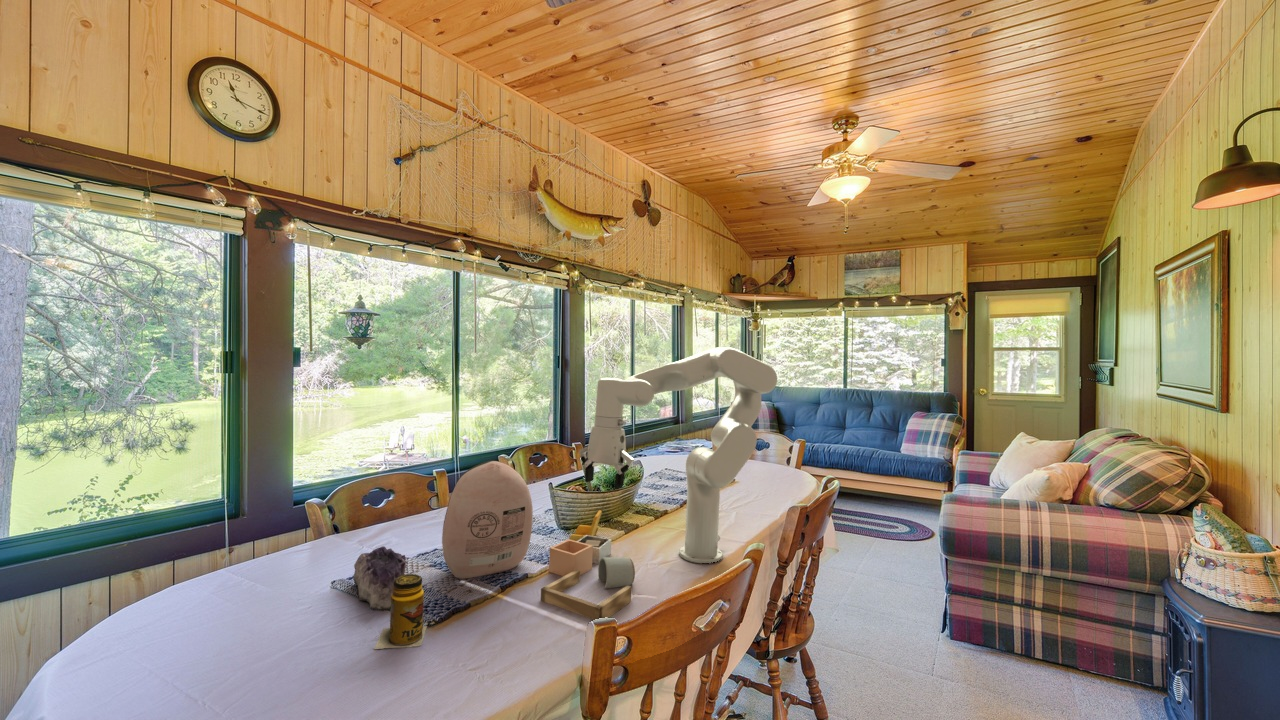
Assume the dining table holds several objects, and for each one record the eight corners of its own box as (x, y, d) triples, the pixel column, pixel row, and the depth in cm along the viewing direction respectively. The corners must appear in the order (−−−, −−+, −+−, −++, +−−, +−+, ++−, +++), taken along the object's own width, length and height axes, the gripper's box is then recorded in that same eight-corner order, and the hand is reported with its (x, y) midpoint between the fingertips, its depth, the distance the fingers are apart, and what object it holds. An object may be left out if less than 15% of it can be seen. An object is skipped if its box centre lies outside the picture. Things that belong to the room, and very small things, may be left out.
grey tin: (585, 551, 155) (586, 534, 155) (610, 556, 152) (611, 539, 152) (572, 561, 148) (573, 543, 148) (598, 566, 145) (599, 548, 145)
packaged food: (514, 553, 152) (518, 448, 151) (541, 580, 135) (546, 462, 135) (434, 568, 140) (438, 454, 139) (453, 599, 123) (457, 470, 123)
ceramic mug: (636, 590, 132) (637, 560, 132) (605, 594, 129) (607, 564, 129) (621, 574, 141) (622, 546, 141) (593, 578, 138) (594, 549, 138)
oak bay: (575, 583, 134) (576, 569, 134) (631, 601, 126) (631, 586, 126) (540, 603, 123) (541, 588, 123) (598, 624, 115) (599, 608, 114)
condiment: (421, 646, 104) (423, 585, 104) (373, 650, 102) (375, 587, 102) (427, 627, 111) (429, 569, 111) (383, 630, 109) (385, 572, 109)
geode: (421, 604, 121) (416, 562, 120) (364, 623, 114) (359, 580, 113) (403, 568, 138) (399, 531, 136) (352, 583, 131) (348, 545, 130)
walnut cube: (586, 553, 152) (587, 539, 152) (600, 554, 152) (600, 541, 152) (583, 559, 148) (584, 544, 148) (597, 560, 148) (598, 546, 148)
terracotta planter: (567, 564, 146) (568, 539, 145) (591, 571, 142) (592, 545, 141) (548, 574, 139) (549, 547, 139) (573, 582, 135) (574, 555, 134)
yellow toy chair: (572, 534, 170) (574, 506, 170) (602, 537, 168) (603, 508, 168) (563, 546, 159) (564, 515, 159) (594, 549, 158) (595, 518, 158)
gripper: (642, 425, 146) (637, 487, 146) (590, 417, 154) (585, 476, 154) (628, 427, 139) (623, 493, 139) (574, 419, 147) (570, 481, 148)
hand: (603, 484), depth 147 cm, fingers open, 9 cm apart
